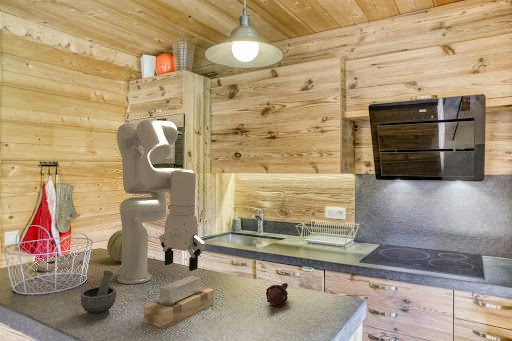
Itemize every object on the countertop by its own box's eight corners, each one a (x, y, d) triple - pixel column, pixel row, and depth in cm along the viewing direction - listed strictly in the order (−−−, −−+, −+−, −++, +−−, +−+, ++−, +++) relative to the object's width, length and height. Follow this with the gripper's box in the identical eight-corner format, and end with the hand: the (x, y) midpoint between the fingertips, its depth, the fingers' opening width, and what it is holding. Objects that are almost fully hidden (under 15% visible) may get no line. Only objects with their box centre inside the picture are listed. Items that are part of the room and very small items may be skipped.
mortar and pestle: (103, 323, 103) (103, 280, 103) (72, 320, 105) (73, 278, 105) (124, 308, 114) (124, 269, 114) (96, 306, 116) (97, 267, 116)
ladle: (96, 249, 169) (38, 259, 148) (96, 262, 169) (38, 274, 148) (88, 247, 172) (31, 257, 152) (88, 260, 172) (31, 272, 152)
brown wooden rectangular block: (143, 322, 105) (143, 306, 104) (194, 298, 124) (194, 285, 124) (164, 328, 100) (164, 312, 100) (213, 303, 120) (213, 289, 119)
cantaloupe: (116, 257, 178) (116, 225, 178) (145, 258, 177) (146, 226, 177) (100, 265, 163) (100, 231, 163) (132, 266, 162) (132, 232, 162)
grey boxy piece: (159, 315, 107) (159, 287, 107) (190, 300, 119) (191, 275, 119) (169, 318, 105) (170, 290, 105) (200, 303, 117) (201, 277, 117)
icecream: (282, 295, 110) (297, 285, 124) (260, 285, 113) (278, 276, 127) (275, 317, 110) (292, 305, 124) (254, 306, 113) (272, 296, 127)
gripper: (152, 209, 113) (150, 265, 113) (196, 215, 104) (195, 275, 105) (169, 206, 119) (168, 259, 120) (212, 212, 111) (211, 269, 111)
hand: (180, 267), depth 112 cm, fingers open, 9 cm apart
